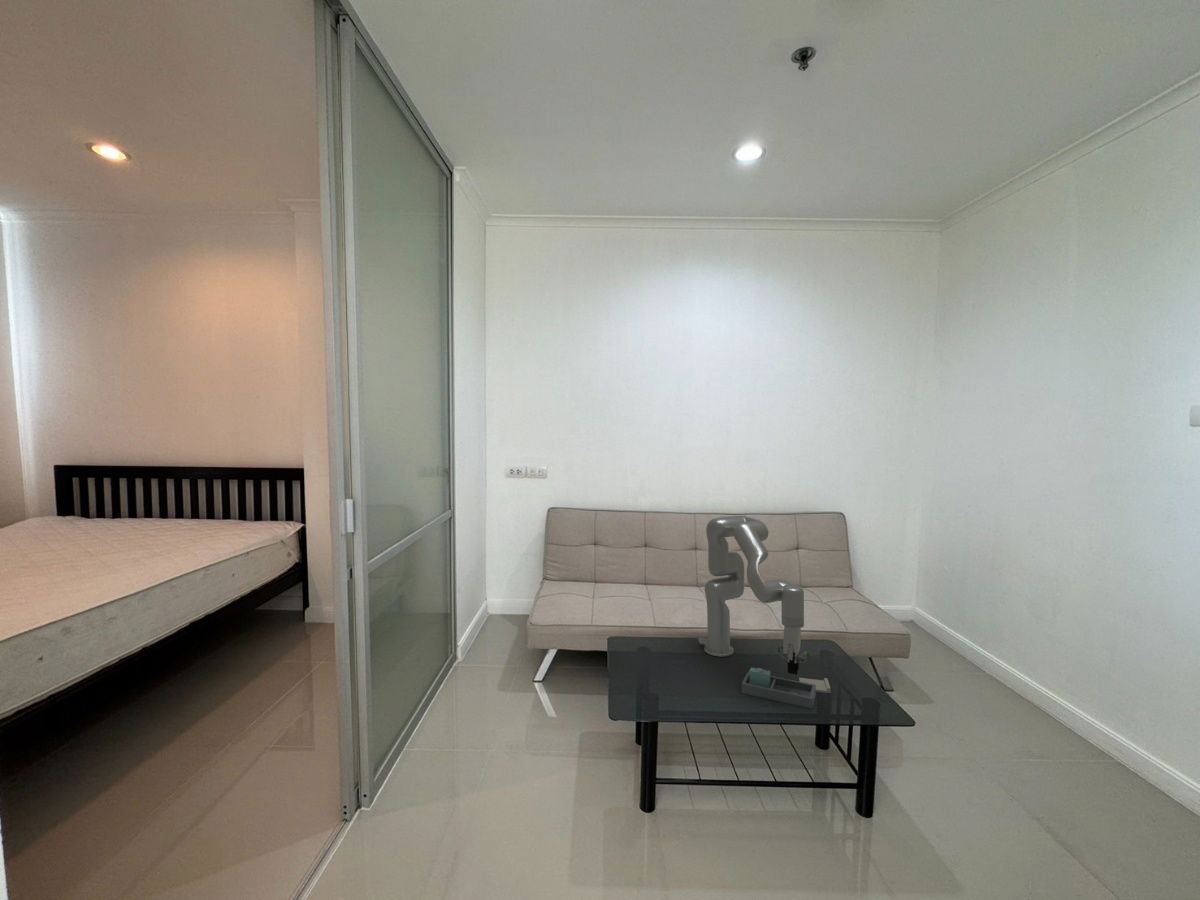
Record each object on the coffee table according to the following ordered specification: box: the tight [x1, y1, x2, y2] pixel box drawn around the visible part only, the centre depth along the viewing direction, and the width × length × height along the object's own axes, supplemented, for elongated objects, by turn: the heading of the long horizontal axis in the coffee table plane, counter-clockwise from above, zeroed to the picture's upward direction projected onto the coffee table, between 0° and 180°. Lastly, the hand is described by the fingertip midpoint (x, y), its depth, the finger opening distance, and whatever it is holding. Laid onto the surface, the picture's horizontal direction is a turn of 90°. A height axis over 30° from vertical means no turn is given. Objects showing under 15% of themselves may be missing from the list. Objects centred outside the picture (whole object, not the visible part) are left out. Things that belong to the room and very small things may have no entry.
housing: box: [741, 667, 817, 710], centre depth 183 cm, size 24×11×8 cm, turn 62°
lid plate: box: [798, 677, 832, 694], centre depth 188 cm, size 10×8×2 cm
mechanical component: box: [777, 645, 810, 679], centre depth 181 cm, size 3×10×10 cm, turn 62°
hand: (793, 670), depth 181 cm, fingers closed on mechanical component, 2 cm apart
